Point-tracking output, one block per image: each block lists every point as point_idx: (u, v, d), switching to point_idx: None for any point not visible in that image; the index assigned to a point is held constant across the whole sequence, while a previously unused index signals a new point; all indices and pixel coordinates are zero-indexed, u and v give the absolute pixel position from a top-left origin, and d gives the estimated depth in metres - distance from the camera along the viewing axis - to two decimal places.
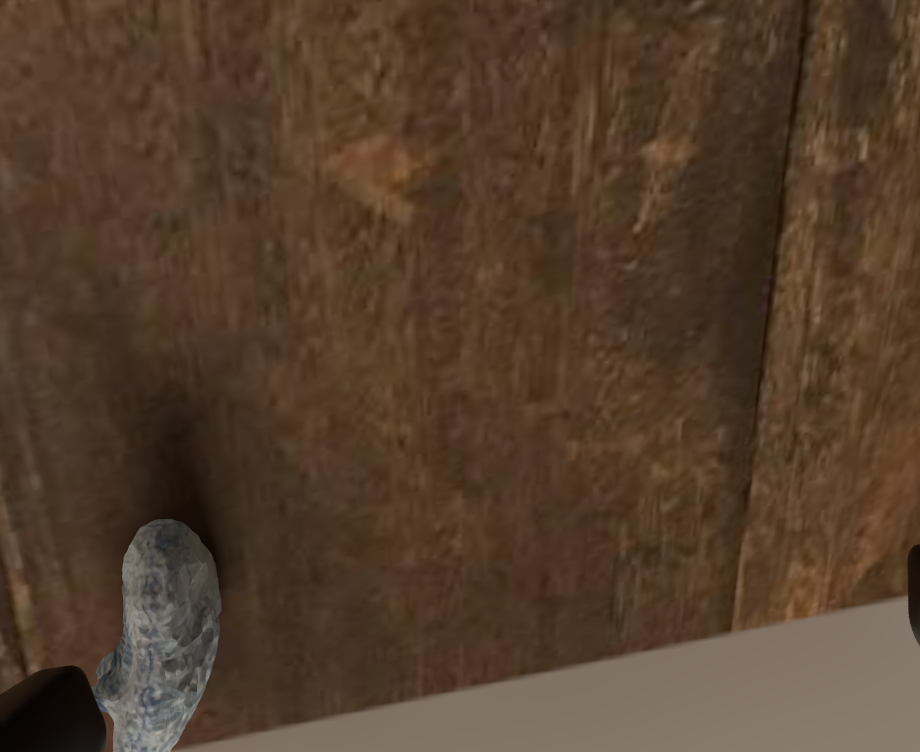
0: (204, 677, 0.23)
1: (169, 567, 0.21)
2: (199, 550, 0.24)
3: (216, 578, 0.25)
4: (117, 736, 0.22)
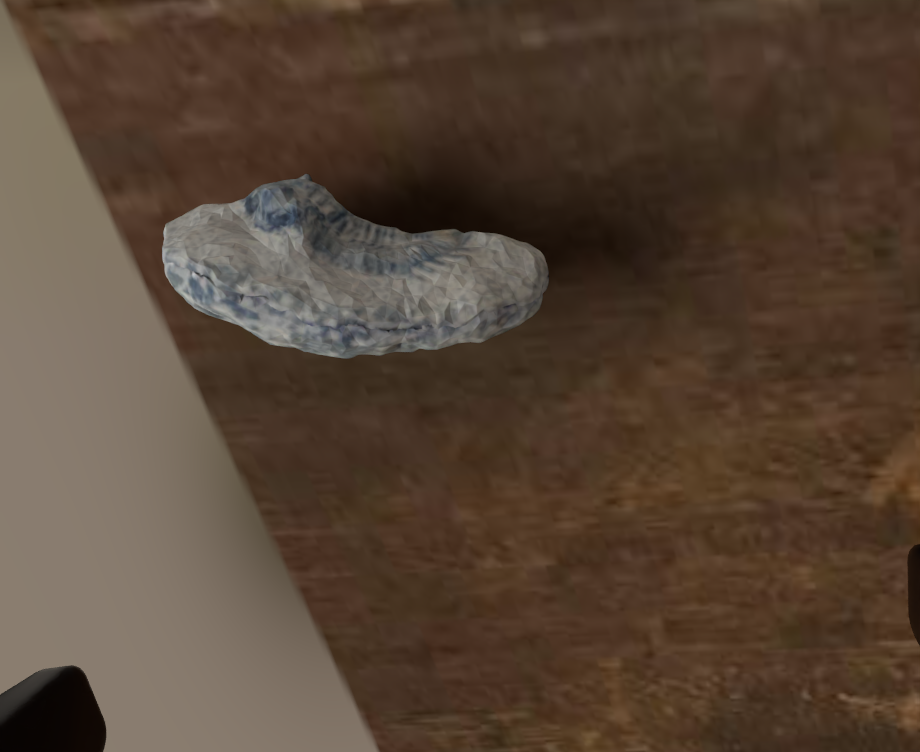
0: None
1: None
2: None
3: None
4: (251, 261, 0.15)
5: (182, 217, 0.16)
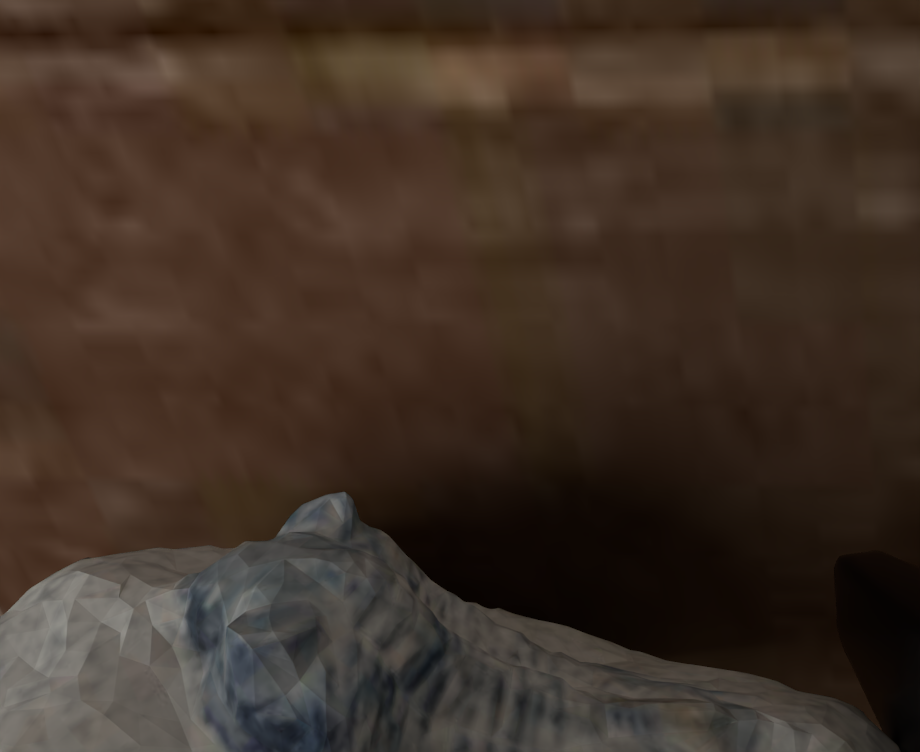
0: None
1: None
2: None
3: None
4: None
5: (26, 617, 0.06)
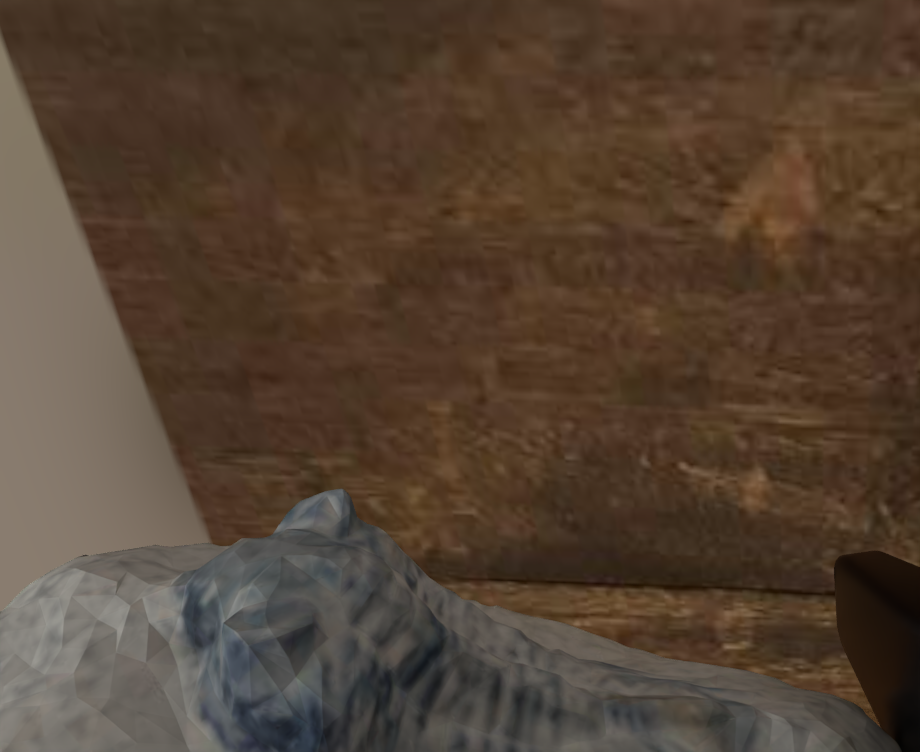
0: None
1: None
2: None
3: None
4: None
5: (22, 615, 0.06)
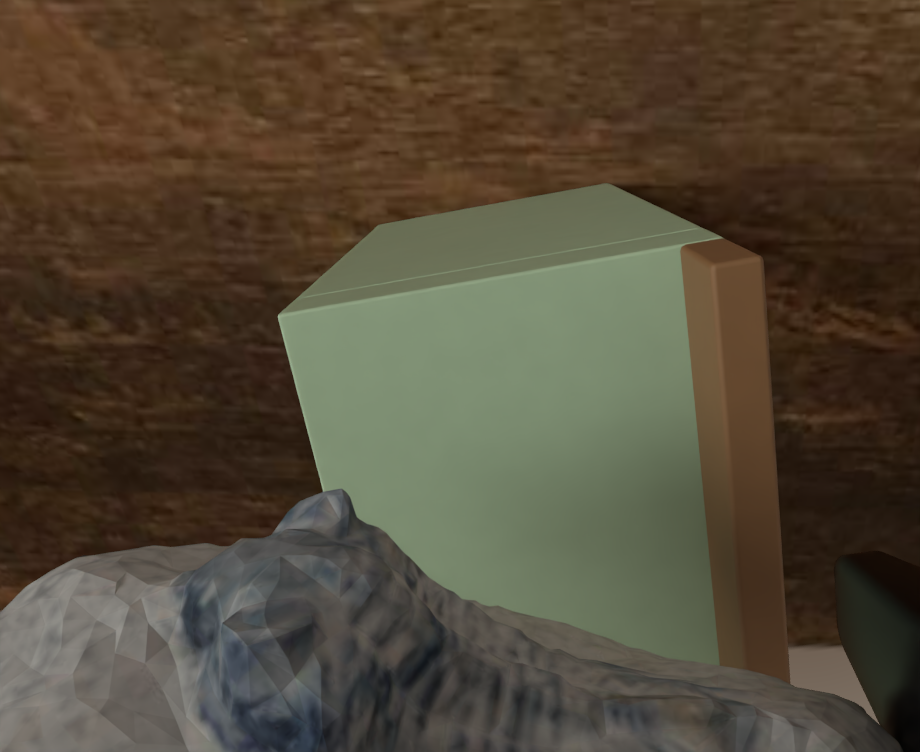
0: None
1: None
2: None
3: None
4: None
5: (21, 615, 0.06)
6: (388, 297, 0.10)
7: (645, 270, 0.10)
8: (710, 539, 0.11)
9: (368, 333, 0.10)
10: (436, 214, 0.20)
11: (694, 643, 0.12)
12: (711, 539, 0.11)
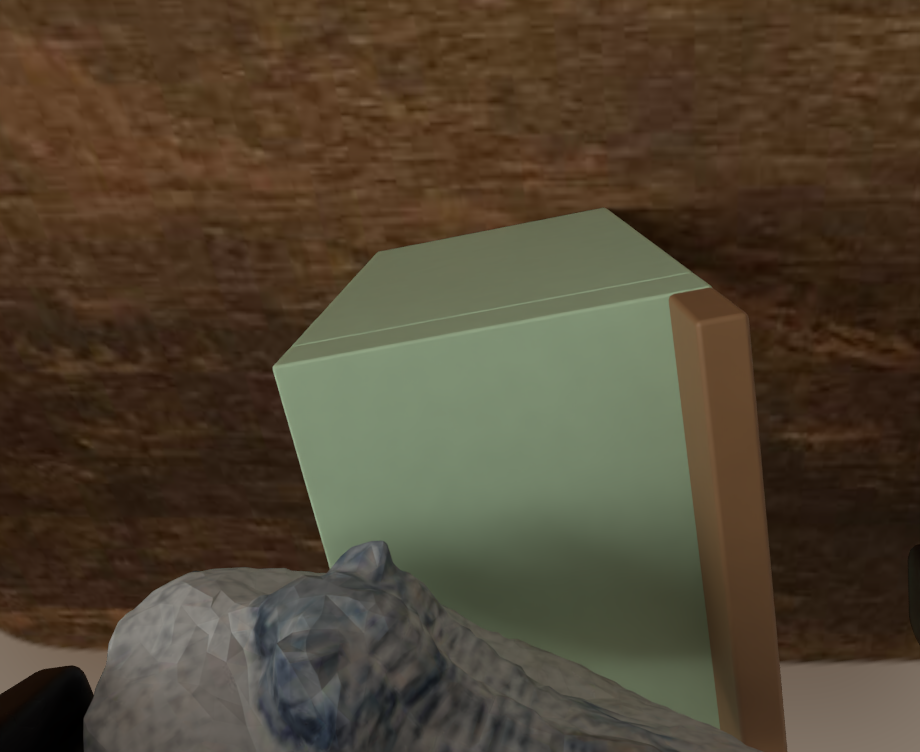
0: None
1: None
2: None
3: None
4: None
5: (148, 614, 0.09)
6: (381, 348, 0.10)
7: (634, 319, 0.10)
8: (704, 581, 0.11)
9: (362, 383, 0.11)
10: (434, 241, 0.20)
11: (691, 681, 0.12)
12: (705, 581, 0.11)
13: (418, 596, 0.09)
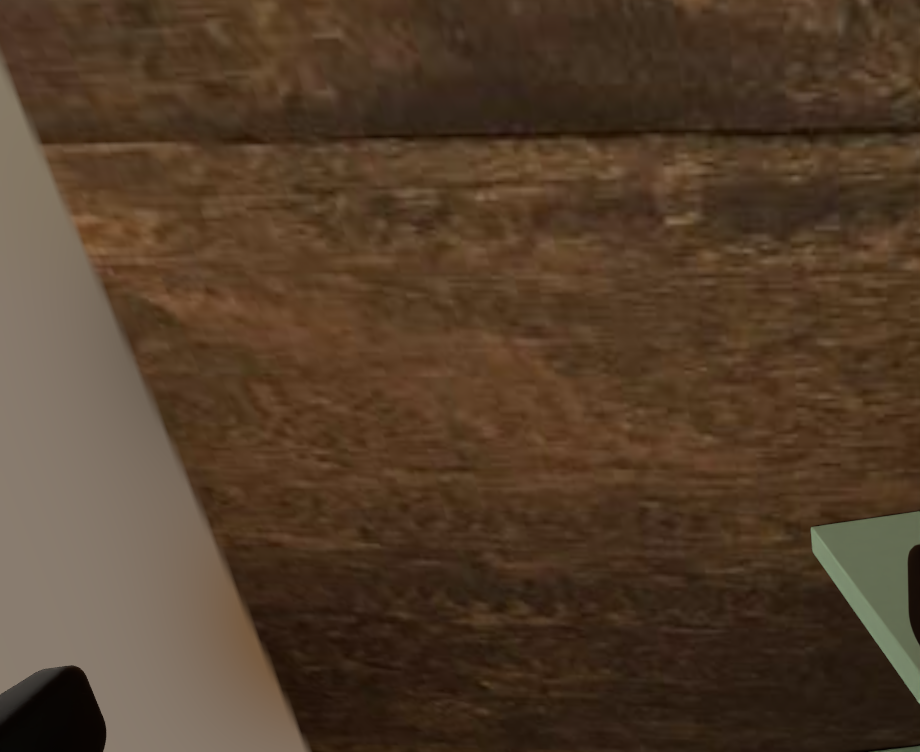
0: None
1: None
2: None
3: None
4: None
5: None
6: None
7: None
8: None
9: None
10: (873, 520, 0.20)
11: None
12: None
13: None
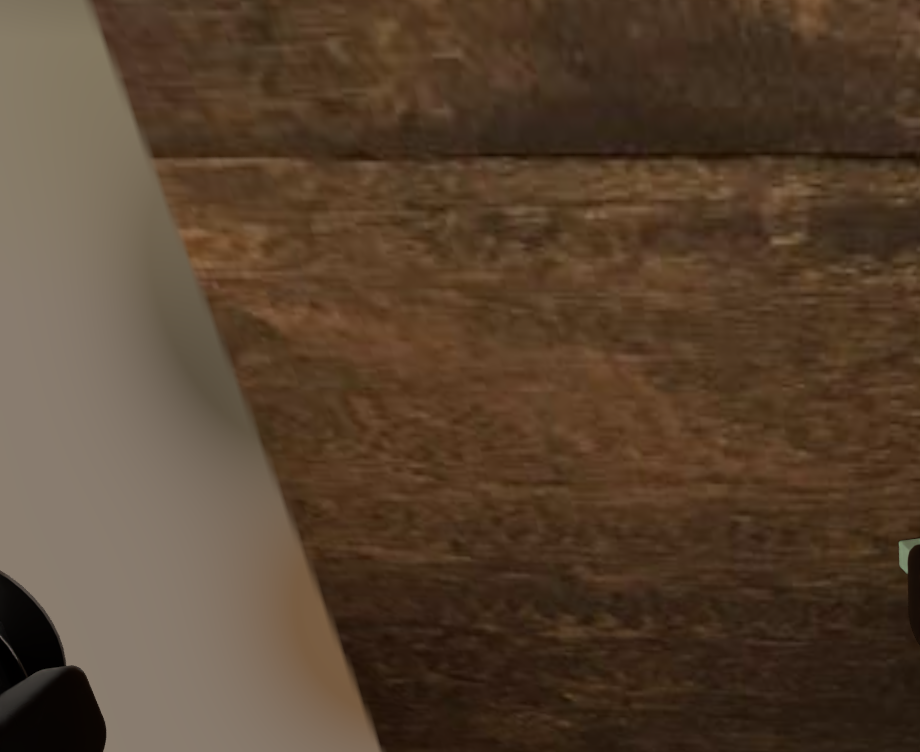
0: None
1: None
2: None
3: None
4: None
5: None
6: None
7: None
8: None
9: None
10: None
11: None
12: None
13: None
